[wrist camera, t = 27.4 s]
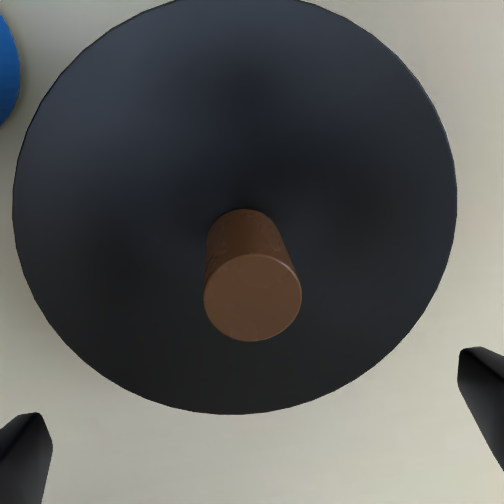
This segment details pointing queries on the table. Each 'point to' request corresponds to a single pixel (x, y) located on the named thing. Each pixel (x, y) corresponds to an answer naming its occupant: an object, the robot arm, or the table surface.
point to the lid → (234, 204)
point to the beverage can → (8, 71)
